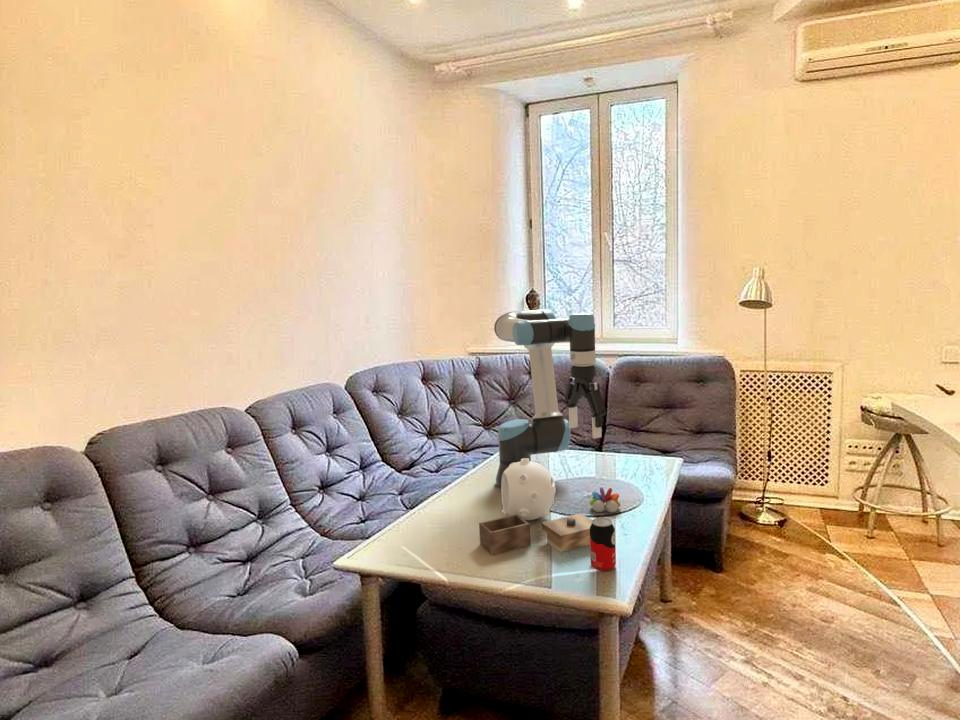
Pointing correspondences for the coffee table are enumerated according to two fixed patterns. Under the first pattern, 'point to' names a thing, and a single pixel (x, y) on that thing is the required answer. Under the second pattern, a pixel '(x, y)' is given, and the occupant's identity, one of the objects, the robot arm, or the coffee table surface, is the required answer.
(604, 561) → the beverage can
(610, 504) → the rainbow disc baby toy
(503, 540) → the box
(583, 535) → the lid
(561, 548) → the light wooden block
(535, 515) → the decorative ball
